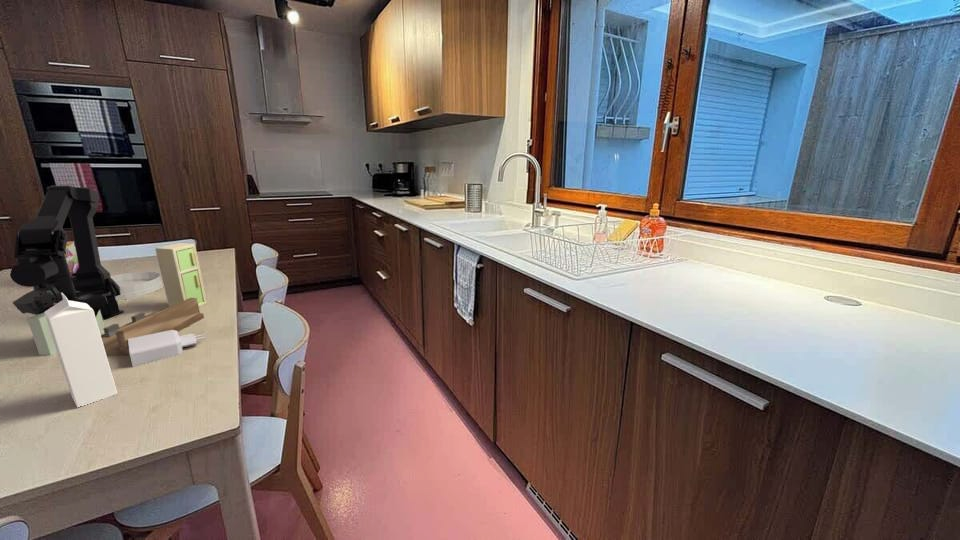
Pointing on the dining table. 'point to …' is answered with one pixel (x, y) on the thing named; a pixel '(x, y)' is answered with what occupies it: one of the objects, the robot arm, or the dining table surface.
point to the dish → (137, 284)
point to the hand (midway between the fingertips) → (71, 332)
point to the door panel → (44, 334)
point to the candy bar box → (71, 257)
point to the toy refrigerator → (181, 273)
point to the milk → (80, 351)
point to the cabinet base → (150, 325)
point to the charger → (159, 346)
